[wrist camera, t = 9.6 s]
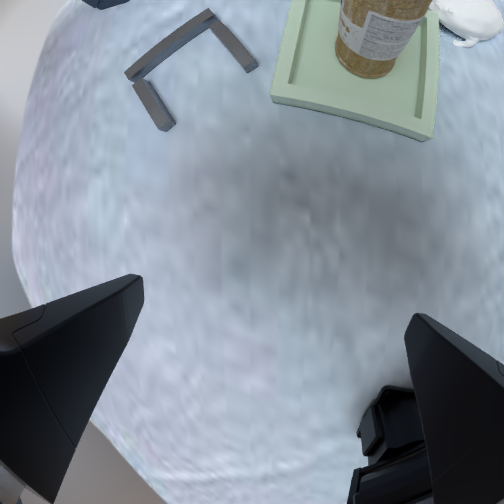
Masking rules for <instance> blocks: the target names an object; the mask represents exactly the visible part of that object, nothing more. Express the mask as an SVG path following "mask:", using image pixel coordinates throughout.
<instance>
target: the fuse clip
mask: <svg viewBox="0 0 504 504" xmlns="http://www.w3.org/2000/svg"><path fill="white" fill-rule="evenodd" d="M208 28H210V29H211V31H212V32H213V33H214V34H215V36H216V37H217V38H218V39H219V40H220V41H221V42H222V44H223V45H224V46H225V47H226V48H227V50H228V51H229V52H230V53H231V54H232V56H233V57H234V58H235V59H236V60H237V62H238V63H239V64H240V65H241V67H242V68H243V69H244V70H245V72H246V73H248V72H250V71H251V70H253V69H255V68H256V67H258V65H257V63H256V61H255V59H254V58H253V57H252V56H251V55H250V53H249V52H248V51H247V50H246V49H245V48H244V46H243V45H242V44H241V43H240V42H239V41H238V40H237V38H236V37H235V36H234V35H233V34H232V33H231V32H230V31H229V30H228V28H227V27H226V26H225V25H224V24H223V23H222V22H221V21H220V20H218V19H217V18H216V16H215V15H214V14H213V13H212V11H211V10H210V9H209V8H208V9H206V10H204V11H203V12H201V13H200V14H198V15H197V16H195V17H194V18H192V19H191V20H189V21H188V22H186V23H185V24H184V25H182V26H181V27H179V28H178V29H177V30H175V31H174V32H172V33H171V34H170V35H168V36H167V37H166V38H164V39H163V40H162V41H161V42H159V43H158V44H157V45H155V46H154V47H153V48H152V49H151V50H149V51H148V52H147V53H146V54H144V55H143V56H142V57H141V58H140V59H139V60H137V61H136V62H135V63H134V64H133V65H132V66H131V67H129V68H128V69H127V70H126V71H125V72H124V73H125V75H126V76H127V78H128V80H130V81H132V82H134V84H133V85H132V86H133V88H134V90H135V91H136V93H137V95H138V96H139V98H140V100H141V101H142V103H143V105H144V106H145V108H146V110H147V111H148V113H149V115H150V116H151V118H152V120H153V121H154V123H155V124H156V126H157V128H158V129H159V130H162V131H165V132H166V131H168V130H169V129H170V128H171V127H173V126H174V125H175V122H174V120H173V119H172V117H171V116H170V114H169V113H168V111H167V109H166V108H165V106H164V105H163V103H162V102H161V100H160V99H159V97H158V95H157V94H156V92H155V91H154V89H153V88H152V86H151V84H150V83H149V82H148V81H147V80H145V79H143V77H144V76H145V75H146V74H147V73H149V72H150V71H151V70H152V69H153V68H155V67H156V66H157V65H158V64H160V63H161V62H162V61H163V60H165V59H166V58H167V57H168V56H170V55H171V54H172V53H174V52H175V51H176V50H178V49H179V48H180V47H182V46H183V45H184V44H186V43H187V42H189V41H190V40H191V39H193V38H194V37H196V36H197V35H199V34H200V33H202V32H203V31H205V30H206V29H208Z"/></svg>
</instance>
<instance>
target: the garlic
mask: <svg viewBox="0 0 504 504" xmlns="http://www.w3.org/2000/svg"><path fill="white" fill-rule="evenodd" d="M428 8H429V10H430V11H433V12H435V13H438V14H439V21H440V22H441V23H442V24H443V25H444V26H445V27H446V28H448V29H450V30H451V31H453V32H454V33H455V34H457V35H459V36H460V37H462V38H464V39H465V41H462V42H460V41H457V40H456V39H455V41H453V44H454V45H456V46H459V47H467V48H469V47H472V46H474V45H475V44H477V42H478V41H483V40H487V39H491V38H492V37H494V36H495V35H498V34H499V33H501V31H502V29H503V25H504V22H503V18H502V15H501V13H500V11H499V10H498V8H497V7H496V5H495V4H494V2H493V1H492V0H433V1H432V2H431V4H430V5H429V7H428Z"/></svg>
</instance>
